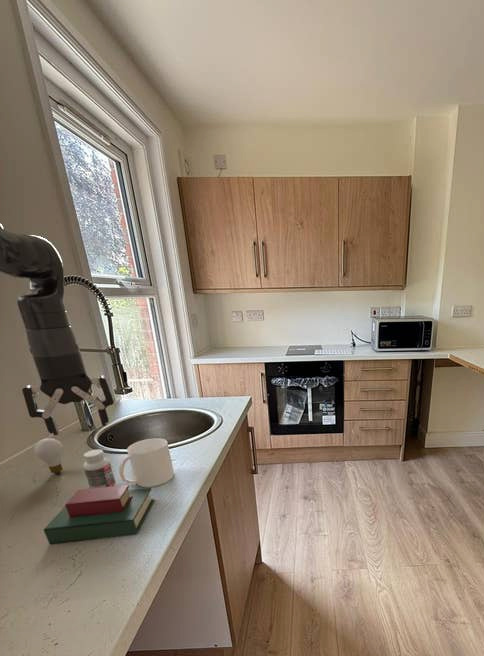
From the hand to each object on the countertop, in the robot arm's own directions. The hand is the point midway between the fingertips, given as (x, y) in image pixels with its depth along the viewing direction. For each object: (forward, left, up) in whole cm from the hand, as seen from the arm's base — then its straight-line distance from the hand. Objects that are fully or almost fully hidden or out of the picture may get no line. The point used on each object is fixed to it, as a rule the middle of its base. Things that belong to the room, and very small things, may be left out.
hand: (81, 429), depth 73 cm
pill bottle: (-2, +6, -18) cm, 19 cm away
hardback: (+4, -8, -18) cm, 20 cm away
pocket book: (+4, -8, -14) cm, 17 cm away
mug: (+8, +8, -18) cm, 21 cm away
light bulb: (-18, +17, -18) cm, 31 cm away
